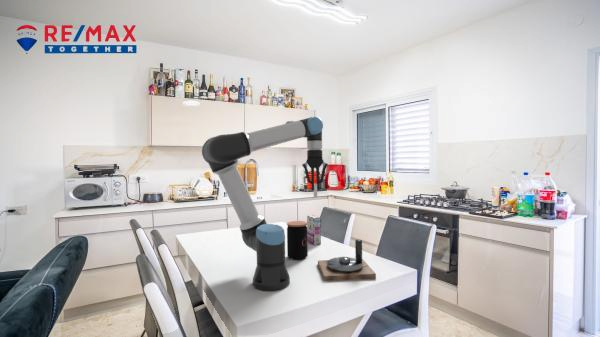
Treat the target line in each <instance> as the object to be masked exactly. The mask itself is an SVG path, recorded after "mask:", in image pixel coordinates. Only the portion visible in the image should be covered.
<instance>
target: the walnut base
mask: <svg viewBox="0 0 600 337" xmlns="http://www.w3.org/2000/svg"><path fill="white" fill-rule="evenodd" d="M328 260H329V259H324V260H323V259H322V260H320V259H319V260H317V266H318V268H319V271H320V273H321V275H322V279H323V281H324V282H328V281H329V282H330V281H348V280H349V281H351V280H369V279H370V280H373V278H375V279H377V274H376V272H375V271H374V270H373V269H372V268H371V267H370V266H369V264H368V263H367V262H366V261H365V259H363V258H362V262H363V268H362V269H361V270H359V271H356V272H349V273H345V272H337V271H333V270H331V269H329V268H328V267H327V261H328Z"/></svg>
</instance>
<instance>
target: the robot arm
mask: <svg viewBox="0 0 600 337" xmlns="http://www.w3.org/2000/svg"><path fill="white" fill-rule="evenodd" d="M323 129H324V123H323V120H322V119H321V118H320V117H319V116H310V117H306V118H303V119H300V120H299V119H298V120H295V121H294V120H289V121H286V122H285V123H283V124H280V125H274V126H272V127H267V128H263V129H260V130H255V131H251V132H244V131H241V132H236V133H228V134H219V135H216V136H213V137H210V138H208V139H207V140H206V141H205V142H204V143H203V145H202V147H201V155H202V157H203V158H202V159H204V161H205V162H206V163H207V164H208V165H209V168H210V169H211V172H212V173H213V174H215V175H217V176H218V177H219V180H220V182H221V184H222V186H223V188H224V190H225V193H226V195H227V197H228V199H229V201H230V203H231V205H232V207H233V209H234V211H235V213H236V215H237V218H238V220H239V221H240V224H239V225H240V226H239V230H240V232H241V237H242V241H243V243H244V244H245V245H246V246H247V247H249V248H250V249H251V250H253V251H255V252H256V267H255V272H254V275H253V278H252V285H253V286H252V287H254V288H255V289H257V290H259V291H266V292H267V291H268V292H269V291H270V292H272V291H279V290H282V289H284V288H287V287H288V286H289V285H290V283H291V282H290V280H291V278H290V274H289V271H288V268H287V266H286V265H287V264H286V235H285V229H284V228H283V227H282V226H281V225H278V224H275V223H268V222H267V221H266V219H265V217H264V216H263V215H261V214H260V213H259V211H258V209H257V207H256V206H255V203H254V201H253V199H252V197H251V195H250V192H249V191H248V188H247V186H246V183H245V180H243V177H242V175H241V172H240V171H239V169H238V164H239V159H242V158H245V157H249V156H250V155H251V154H252V153H253V152H257V151H260V150H264V149H267V148H271V147H274V146H277V145H280V144H284V143H288V142H290V141H291V142H292V141H294V140H295V141H296V140H298V139H301V138H305V139H306V141H307V142H306V145H307V147H306V149H307V151H306V152H307V159H306V161H305V162H304V163H302V164H301V166H302V167H303V169H304V173H305V177H306V180H307V182H308V183H309V184H310V186H311V187H310V188H311V191H313V197H314V198H318V191H320V184H322V183H323V182H324V178H325V173H326V169H327V167H328V166H329V165H328V163H326V162H325V161H324V159H323ZM321 166H322V170H321V174H320V169H321ZM308 167H309V168H310V174H309V169H308ZM315 173H316V174H315ZM315 180H316V182H315Z"/></svg>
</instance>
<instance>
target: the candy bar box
mask: <svg viewBox="0 0 600 337" xmlns="http://www.w3.org/2000/svg"><path fill="white" fill-rule="evenodd" d="M321 219H322V218H321V217H319V216H318V215H314V214H309V215H306V222H307V225H306V227H307V243H310V244H312V245H313V246H317V245H319V246H320V245H321V243H322V241H321V240H322V235H321V233H322V229H321V228H322V227H321V226H322V225H321V224H322V220H321Z"/></svg>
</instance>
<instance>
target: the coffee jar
mask: <svg viewBox="0 0 600 337" xmlns="http://www.w3.org/2000/svg"><path fill="white" fill-rule="evenodd" d="M286 225H287V227H286V240H287V241H286V242H287V243H286V244H287V247H286V250H287V253H286V254H287V257H288V259H290V260H294V261H300V260H305V259H306V258H307V257H308V256H309V255H308V252H309V250H308V249H309V248H308V241H307V221H302V220H292V221H288V222H287V223H286Z"/></svg>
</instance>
